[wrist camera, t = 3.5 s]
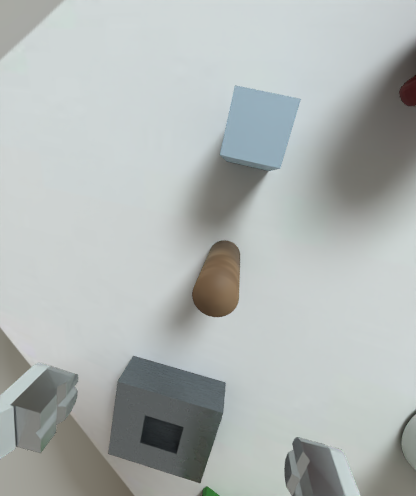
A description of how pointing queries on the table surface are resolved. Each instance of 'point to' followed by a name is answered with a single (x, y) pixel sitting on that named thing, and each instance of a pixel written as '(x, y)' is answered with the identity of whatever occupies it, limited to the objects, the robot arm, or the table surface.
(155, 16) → the table surface
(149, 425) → the socket
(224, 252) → the round peg
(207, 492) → the hardback book
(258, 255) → the table surface
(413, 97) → the mug
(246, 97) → the square peg
